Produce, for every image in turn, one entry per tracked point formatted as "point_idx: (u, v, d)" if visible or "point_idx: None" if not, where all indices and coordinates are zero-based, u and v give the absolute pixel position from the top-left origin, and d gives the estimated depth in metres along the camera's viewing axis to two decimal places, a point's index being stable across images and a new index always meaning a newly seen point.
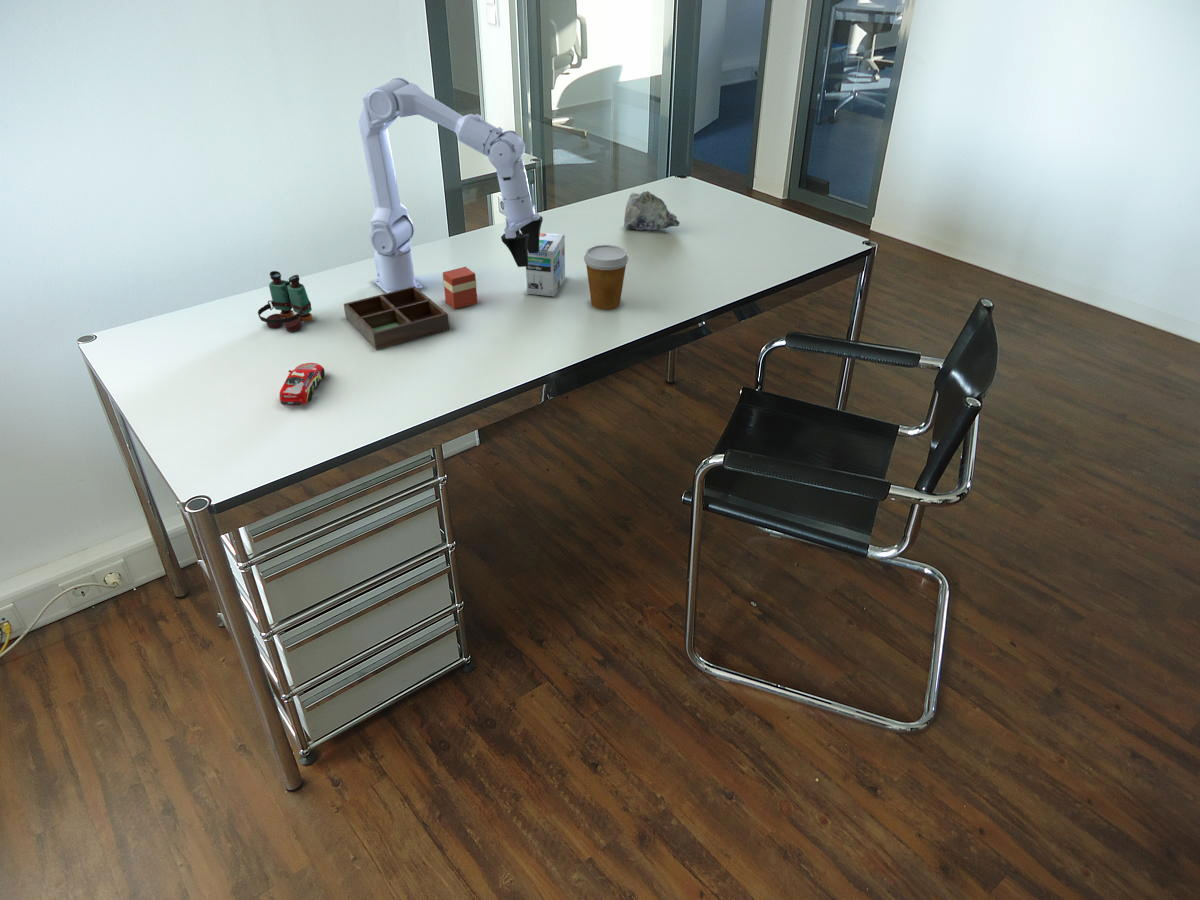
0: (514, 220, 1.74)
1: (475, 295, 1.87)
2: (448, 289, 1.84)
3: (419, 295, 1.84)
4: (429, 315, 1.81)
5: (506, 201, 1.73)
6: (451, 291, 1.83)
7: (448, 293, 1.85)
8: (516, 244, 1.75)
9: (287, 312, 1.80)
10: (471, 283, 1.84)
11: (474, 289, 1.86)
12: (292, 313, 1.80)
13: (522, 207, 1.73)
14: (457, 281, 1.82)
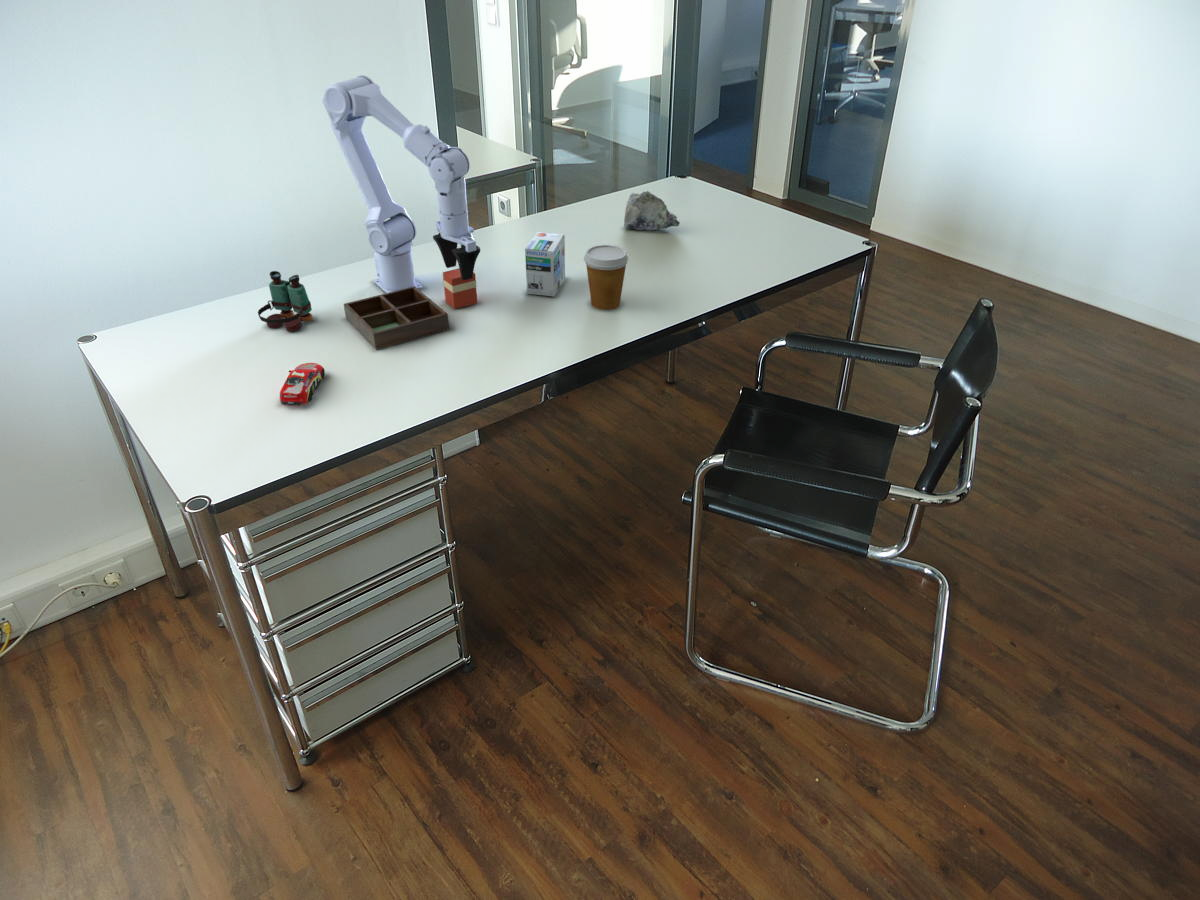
0: (460, 234, 1.76)
1: (475, 295, 1.87)
2: (448, 289, 1.84)
3: (419, 295, 1.84)
4: (429, 315, 1.81)
5: (453, 216, 1.74)
6: (451, 291, 1.83)
7: (448, 293, 1.85)
8: (466, 257, 1.78)
9: (287, 312, 1.80)
10: (471, 283, 1.84)
11: (474, 289, 1.86)
12: (292, 313, 1.80)
13: (466, 220, 1.76)
14: (457, 281, 1.82)
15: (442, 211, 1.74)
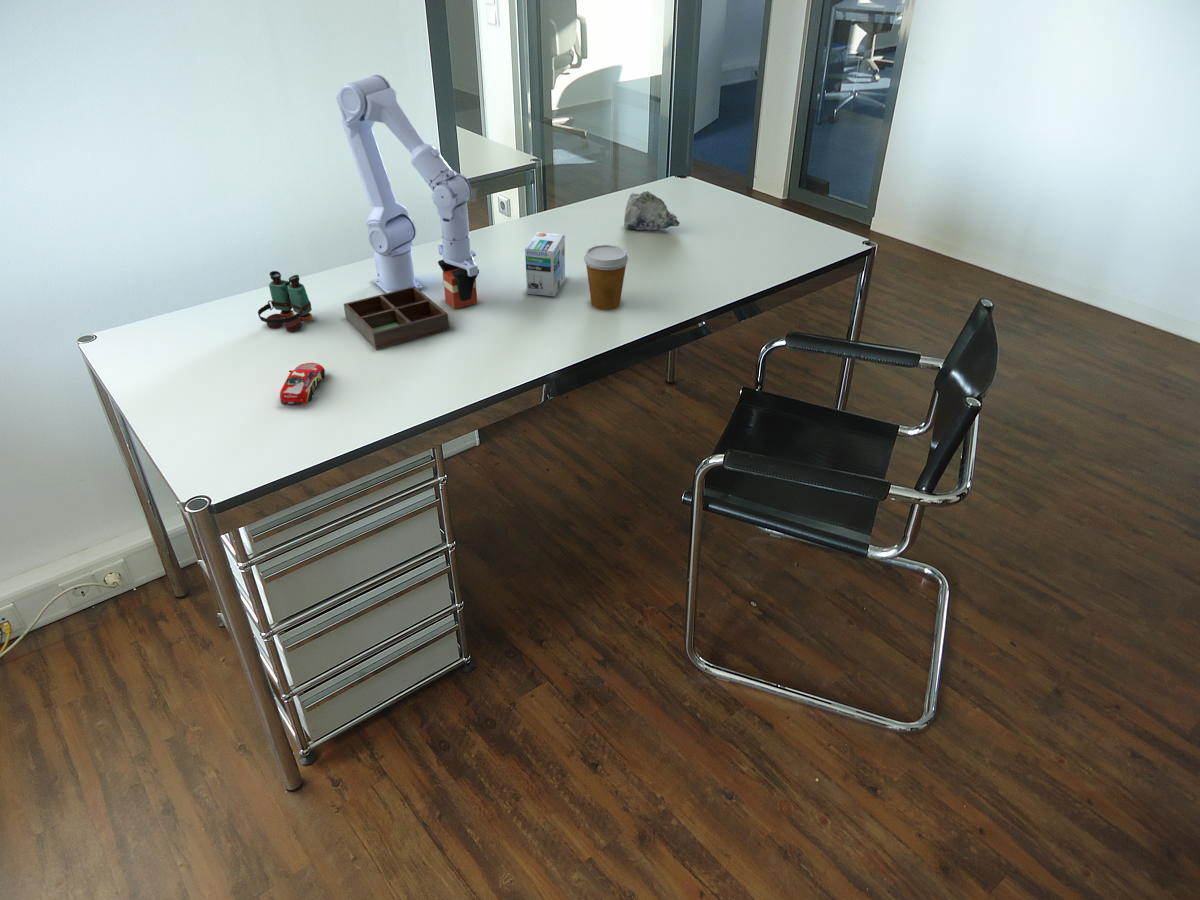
0: (462, 259, 1.80)
1: (475, 295, 1.87)
2: (448, 289, 1.84)
3: (419, 295, 1.84)
4: (429, 315, 1.81)
5: (456, 241, 1.77)
6: (451, 291, 1.83)
7: (448, 293, 1.85)
8: (464, 279, 1.82)
9: (287, 312, 1.80)
10: None
11: (474, 289, 1.86)
12: (292, 313, 1.80)
13: (468, 245, 1.80)
14: None
15: (444, 236, 1.77)
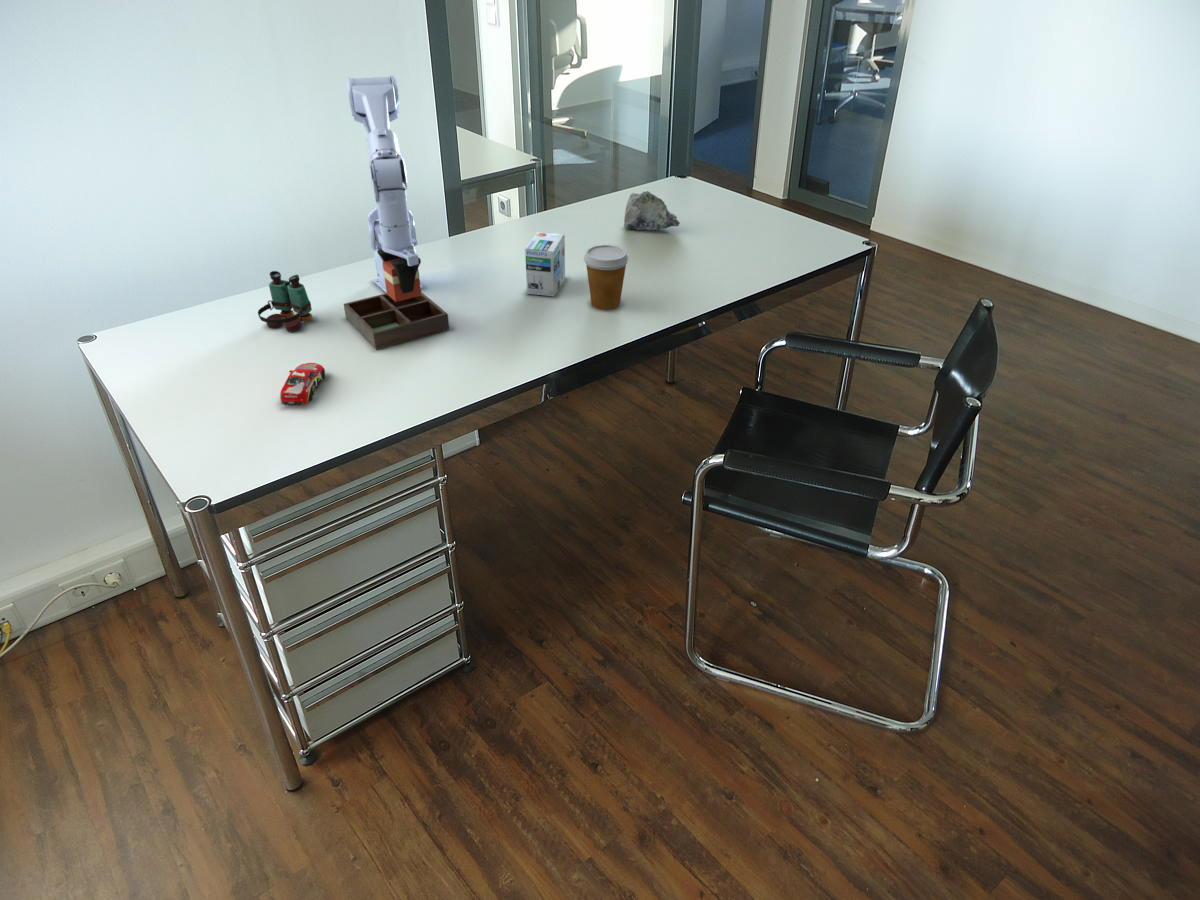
0: (402, 247, 1.66)
1: (418, 287, 1.73)
2: (388, 280, 1.71)
3: None
4: (429, 315, 1.81)
5: (394, 228, 1.63)
6: (391, 282, 1.70)
7: (389, 285, 1.71)
8: (405, 269, 1.68)
9: (287, 312, 1.80)
10: None
11: (417, 280, 1.72)
12: (292, 313, 1.80)
13: (408, 232, 1.66)
14: None
15: None
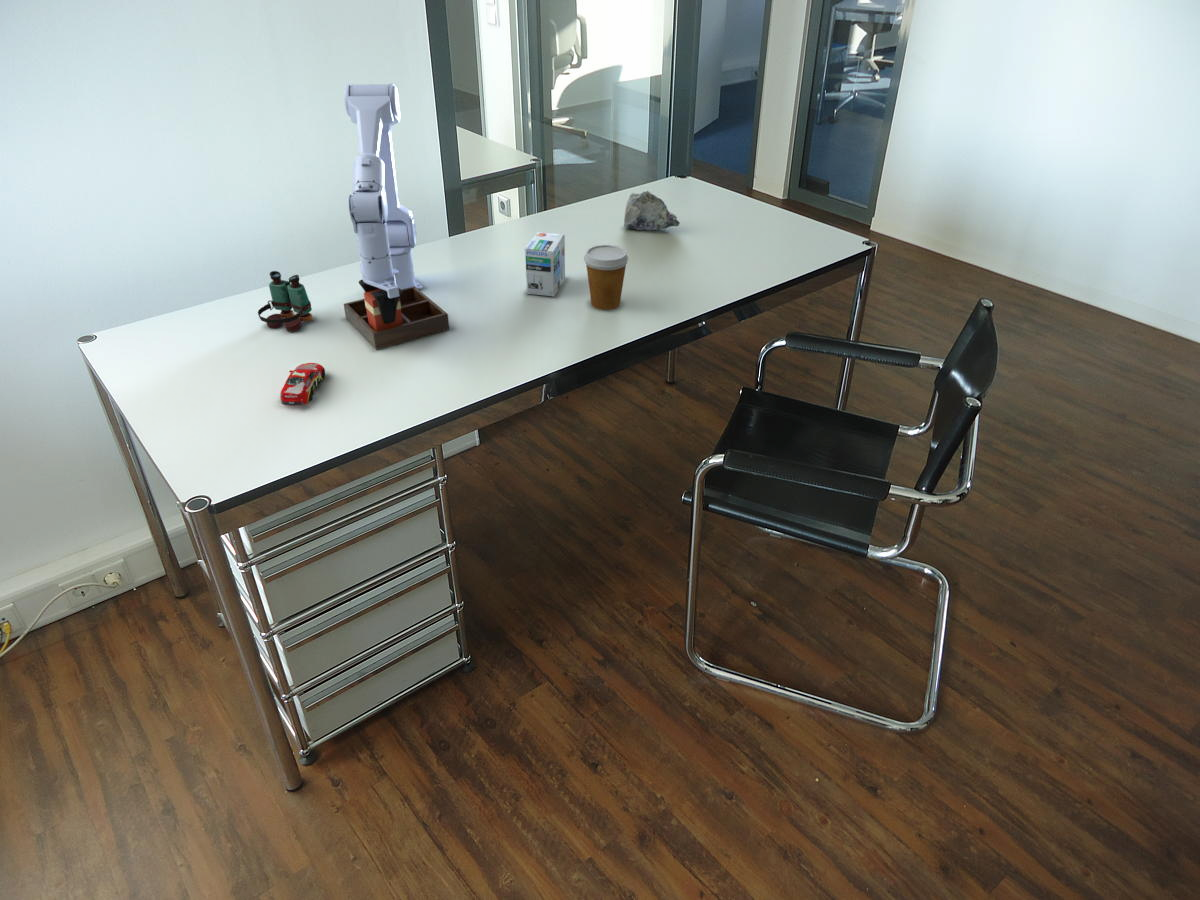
0: (382, 279, 1.65)
1: (400, 317, 1.72)
2: (370, 311, 1.70)
3: (419, 295, 1.84)
4: (429, 315, 1.81)
5: (374, 260, 1.62)
6: (372, 313, 1.69)
7: (370, 315, 1.71)
8: (386, 300, 1.67)
9: (287, 312, 1.80)
10: None
11: (398, 311, 1.71)
12: (292, 313, 1.80)
13: (389, 264, 1.65)
14: None
15: None
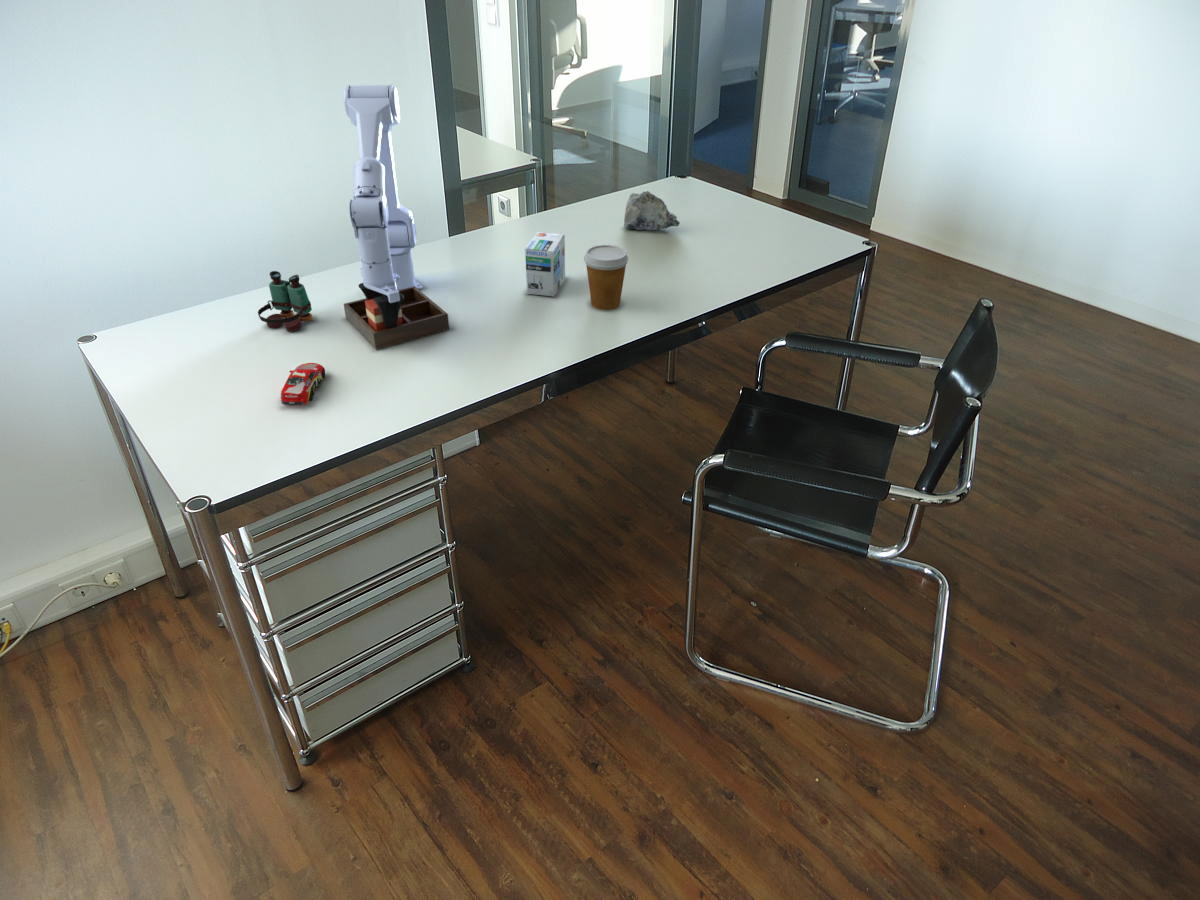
0: (383, 283, 1.65)
1: None
2: (371, 319, 1.71)
3: (419, 295, 1.84)
4: (429, 315, 1.81)
5: (375, 265, 1.63)
6: (373, 321, 1.70)
7: (371, 323, 1.72)
8: (388, 306, 1.68)
9: (287, 312, 1.80)
10: None
11: (399, 319, 1.72)
12: (292, 313, 1.80)
13: (390, 268, 1.65)
14: (379, 311, 1.69)
15: None
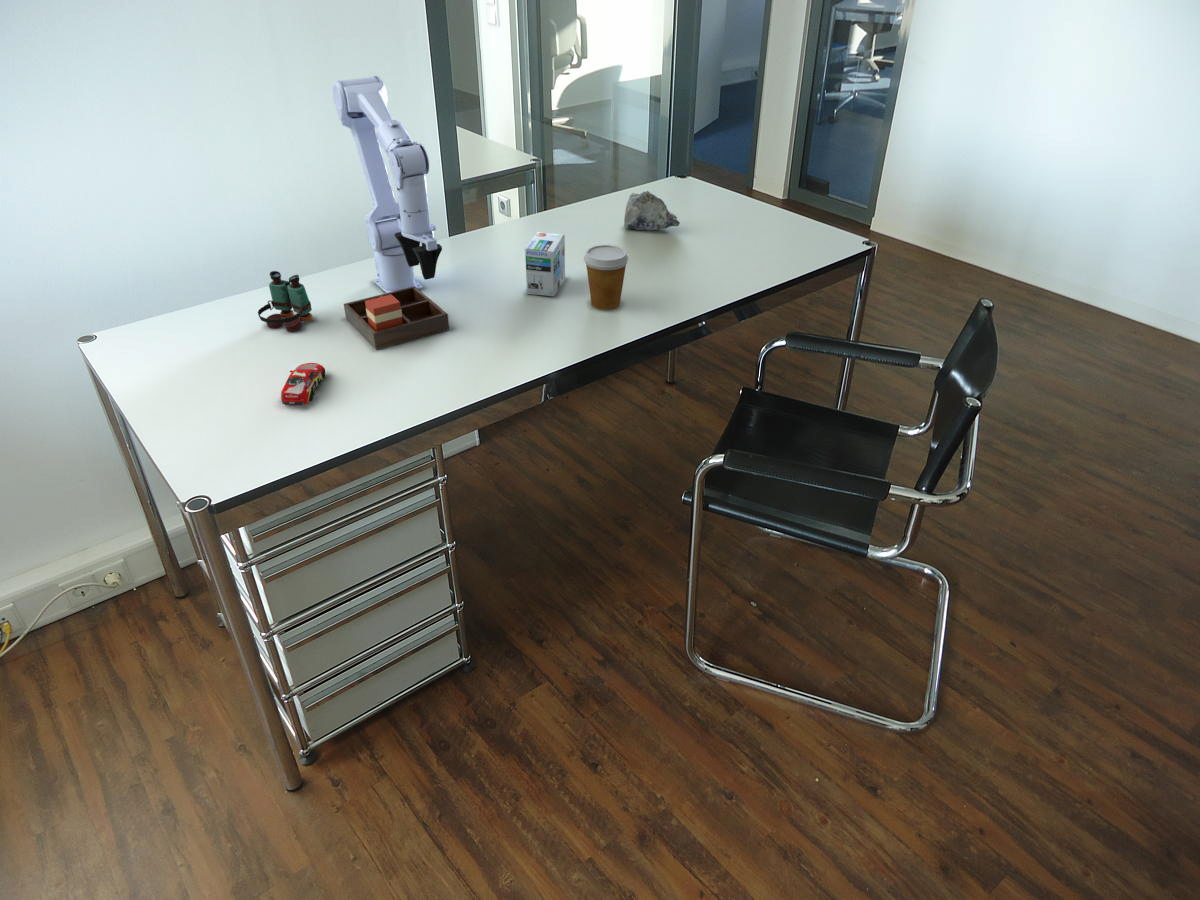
0: (421, 232, 1.71)
1: None
2: (371, 319, 1.71)
3: (419, 295, 1.84)
4: (429, 315, 1.81)
5: (413, 214, 1.68)
6: (373, 321, 1.70)
7: (371, 323, 1.72)
8: (427, 256, 1.73)
9: (287, 312, 1.80)
10: (395, 312, 1.71)
11: (399, 319, 1.72)
12: (292, 313, 1.80)
13: (428, 218, 1.71)
14: (379, 311, 1.69)
15: (399, 206, 1.69)
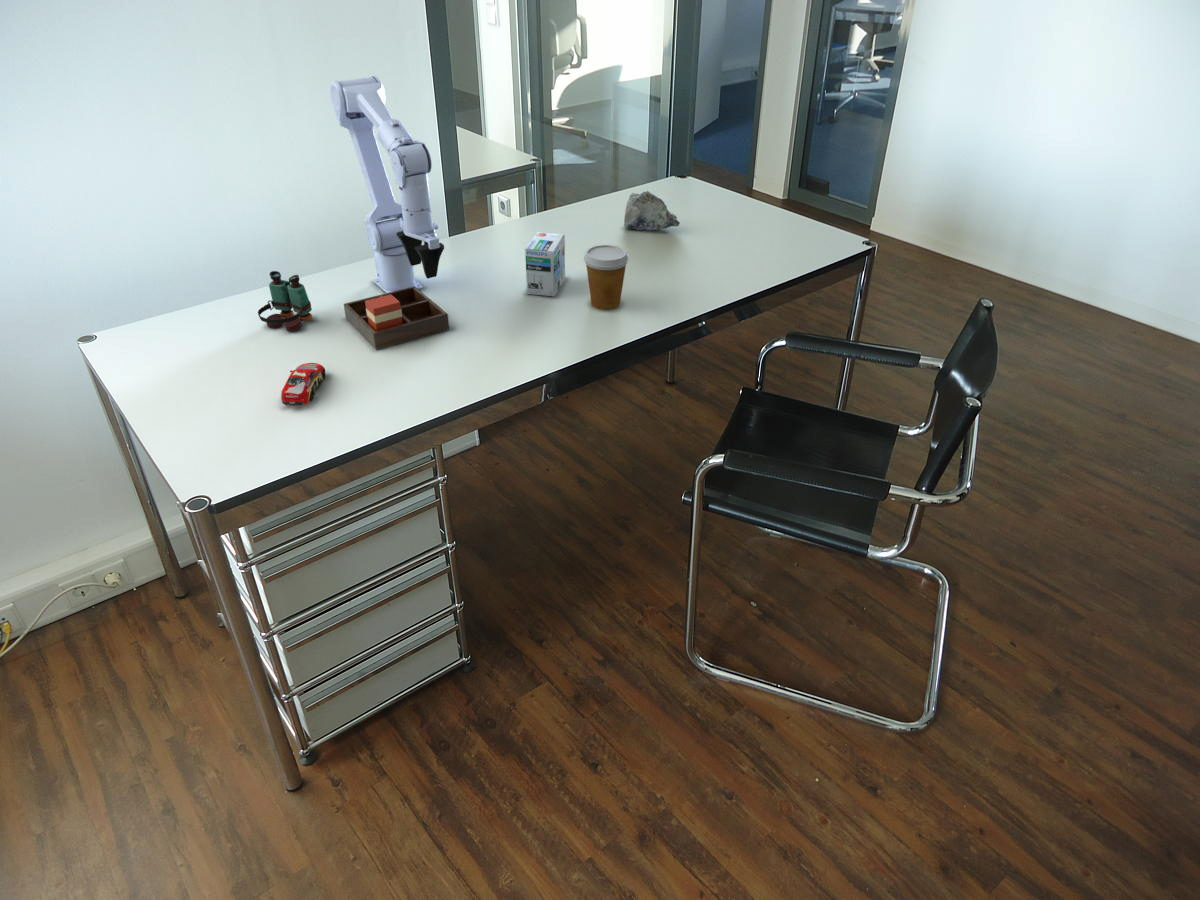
0: (423, 231, 1.71)
1: None
2: (371, 319, 1.71)
3: (419, 295, 1.84)
4: (429, 315, 1.81)
5: (416, 213, 1.69)
6: (373, 321, 1.70)
7: (371, 323, 1.72)
8: (429, 255, 1.73)
9: (287, 312, 1.80)
10: (395, 312, 1.71)
11: (399, 319, 1.72)
12: (292, 313, 1.80)
13: (430, 217, 1.71)
14: (379, 311, 1.69)
15: (401, 205, 1.70)
